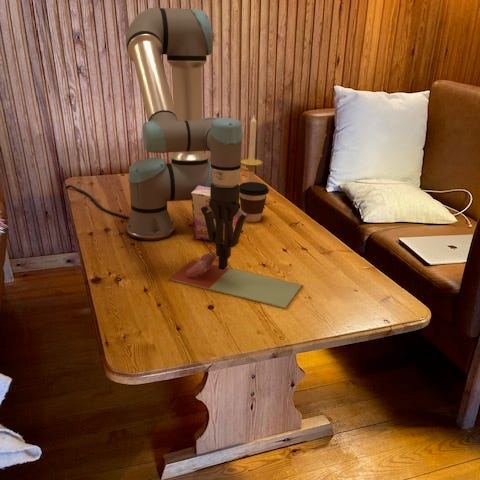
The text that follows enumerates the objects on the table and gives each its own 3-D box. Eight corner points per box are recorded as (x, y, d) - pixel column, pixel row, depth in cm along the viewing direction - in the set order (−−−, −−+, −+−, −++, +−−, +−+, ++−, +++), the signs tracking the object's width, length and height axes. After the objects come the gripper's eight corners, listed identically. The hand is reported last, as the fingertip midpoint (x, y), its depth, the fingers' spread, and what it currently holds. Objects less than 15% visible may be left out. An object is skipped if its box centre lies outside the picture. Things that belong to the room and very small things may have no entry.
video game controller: (196, 285, 148) (206, 267, 144) (183, 275, 149) (193, 257, 144) (211, 271, 156) (222, 254, 152) (199, 262, 156) (209, 244, 152)
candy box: (239, 236, 174) (239, 190, 163) (233, 245, 170) (232, 199, 159) (201, 229, 178) (198, 184, 167) (194, 238, 174) (190, 192, 163)
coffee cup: (231, 221, 188) (232, 188, 182) (243, 211, 197) (244, 179, 190) (260, 226, 185) (262, 193, 178) (271, 216, 193) (273, 184, 187)
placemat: (170, 280, 148) (170, 278, 148) (193, 261, 159) (193, 259, 159) (285, 308, 137) (285, 307, 137) (301, 286, 148) (301, 284, 148)
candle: (266, 200, 208) (273, 113, 191) (253, 207, 201) (258, 117, 184) (245, 195, 213) (249, 109, 195) (231, 202, 205) (234, 113, 188)
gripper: (195, 183, 134) (195, 267, 146) (242, 191, 130) (238, 278, 142) (208, 176, 140) (208, 257, 152) (254, 183, 136) (249, 267, 148)
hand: (223, 267), depth 147 cm, fingers closed
